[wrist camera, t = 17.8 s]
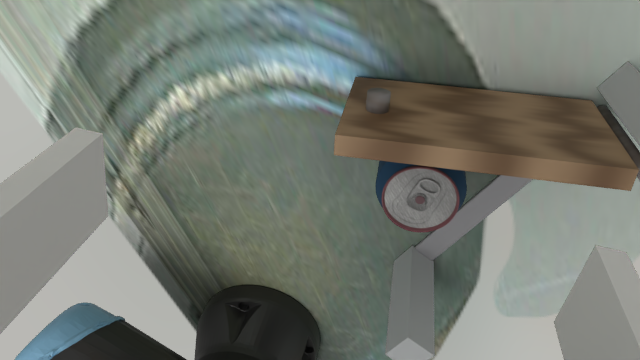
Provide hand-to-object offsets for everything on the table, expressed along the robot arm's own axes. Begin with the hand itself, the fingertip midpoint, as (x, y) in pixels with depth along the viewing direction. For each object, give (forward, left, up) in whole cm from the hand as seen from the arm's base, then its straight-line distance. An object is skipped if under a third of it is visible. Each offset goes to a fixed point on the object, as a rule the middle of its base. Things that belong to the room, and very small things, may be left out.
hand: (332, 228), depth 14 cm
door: (-2, -11, -34) cm, 36 cm away
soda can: (-9, -11, -35) cm, 37 cm away
